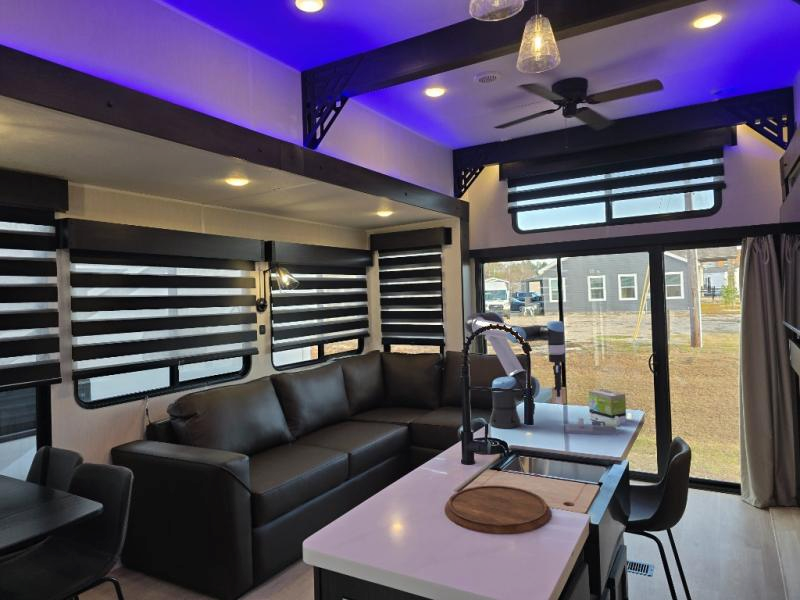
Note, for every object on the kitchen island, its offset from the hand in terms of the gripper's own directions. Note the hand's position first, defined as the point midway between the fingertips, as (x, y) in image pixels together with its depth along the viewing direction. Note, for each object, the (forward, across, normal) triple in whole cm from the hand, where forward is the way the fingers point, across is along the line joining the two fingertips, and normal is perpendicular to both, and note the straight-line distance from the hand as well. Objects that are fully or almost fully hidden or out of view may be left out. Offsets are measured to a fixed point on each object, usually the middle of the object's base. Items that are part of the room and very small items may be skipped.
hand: (559, 402), depth 248 cm
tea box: (+14, +22, -22) cm, 34 cm away
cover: (+10, +2, -23) cm, 25 cm away
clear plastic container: (+14, +2, -13) cm, 19 cm away
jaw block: (0, 0, 0) cm, 0 cm away
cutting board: (+15, -99, +15) cm, 101 cm away
